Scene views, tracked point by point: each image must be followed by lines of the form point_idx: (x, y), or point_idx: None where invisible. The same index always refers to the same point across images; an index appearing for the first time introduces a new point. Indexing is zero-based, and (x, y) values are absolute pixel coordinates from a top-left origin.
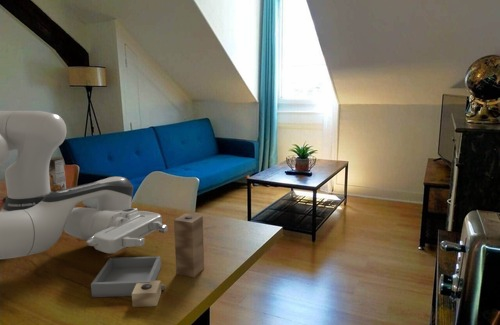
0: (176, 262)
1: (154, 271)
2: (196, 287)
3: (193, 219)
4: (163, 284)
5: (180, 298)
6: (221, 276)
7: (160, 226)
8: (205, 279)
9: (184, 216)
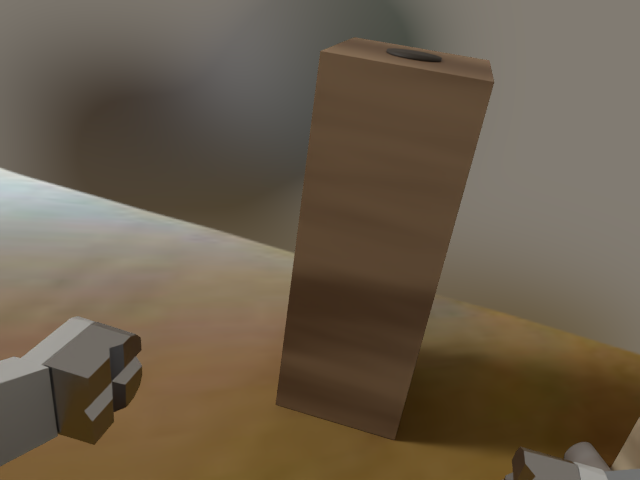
0: (411, 378)
1: None
2: (482, 347)
3: (431, 53)
4: (585, 445)
5: (590, 387)
6: None
7: (106, 362)
8: None
9: (390, 58)
